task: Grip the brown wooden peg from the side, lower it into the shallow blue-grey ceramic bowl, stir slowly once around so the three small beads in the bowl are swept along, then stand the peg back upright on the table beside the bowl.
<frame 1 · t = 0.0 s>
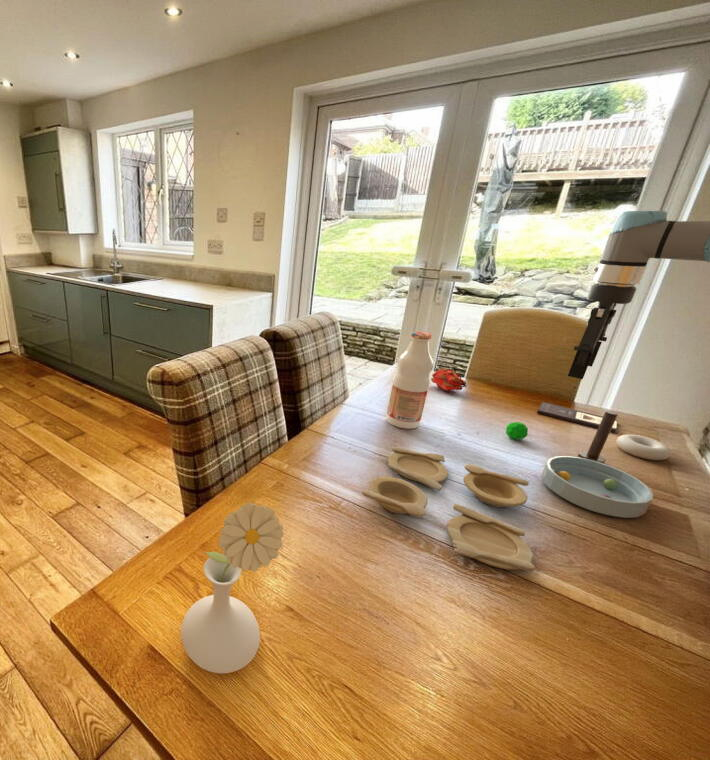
hand: (580, 371, 98), 23 cm above the table, tool pointing down, fingers open, 13 cm apart
chocolate bar: (575, 418, 124), on the table
dragon fruit: (446, 390, 144), on the table
flower in vase: (225, 641, 57), on the table
donut: (639, 453, 105), on the table
fruit juice: (401, 422, 120), on the table
polyhedron: (514, 438, 112), on the table
brown wooden peg: (590, 461, 101), on the table
bowl: (589, 493, 89), on the table
bead b: (605, 500, 84), point 2 cm above the table, touching bowl
bead c: (610, 484, 89), point 2 cm above the table, touching bowl
bead a: (563, 476, 92), point 2 cm above the table, touching bowl
tableware set: (445, 502, 86), on the table
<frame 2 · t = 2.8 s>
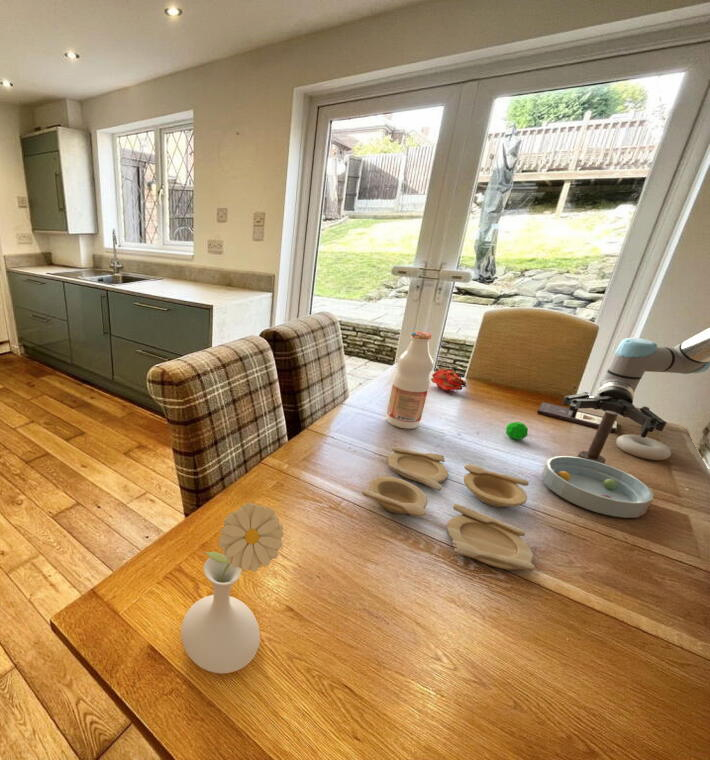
hand: (608, 422, 103), 8 cm above the table, tool horizontal, fingers open, 13 cm apart
nothing on the table moved.
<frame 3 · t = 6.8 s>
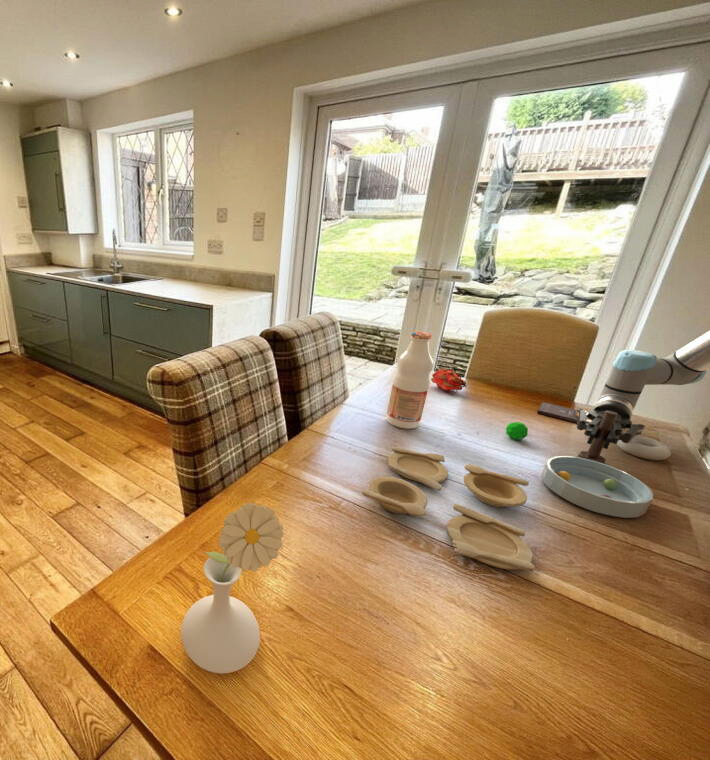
hand: (598, 441, 95), 8 cm above the table, tool horizontal, fingers closed on brown wooden peg, 2 cm apart
brown wooden peg: (590, 461, 101), on the table, touching gripper
everything else where it was.
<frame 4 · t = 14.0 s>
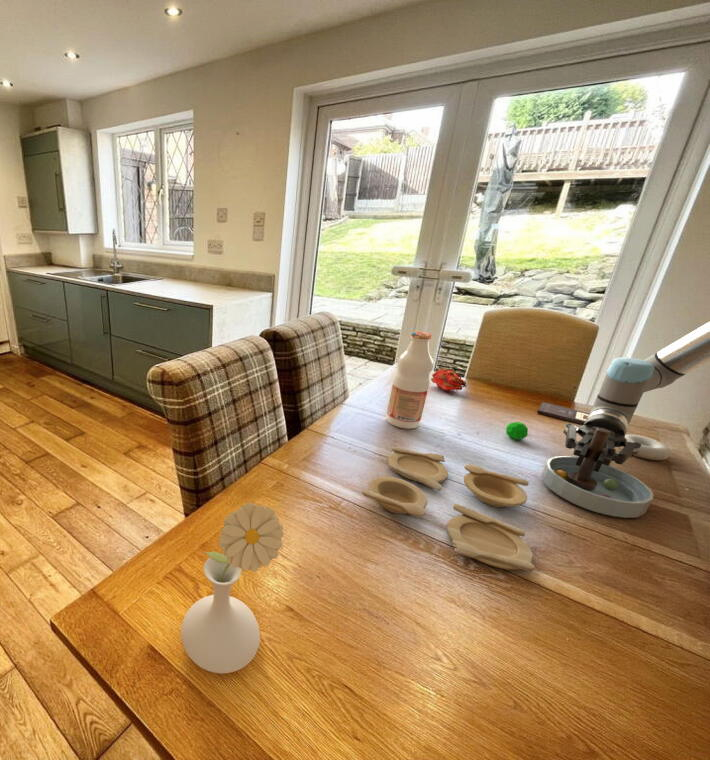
hand: (589, 463, 83), 10 cm above the table, tool horizontal, fingers closed on brown wooden peg, 2 cm apart
brown wooden peg: (580, 484, 90), point 2 cm above the table, touching bead a, gripper
bead a: (560, 475, 92), point 2 cm above the table, tilted 27°, touching bowl, brown wooden peg
everything else where it was.
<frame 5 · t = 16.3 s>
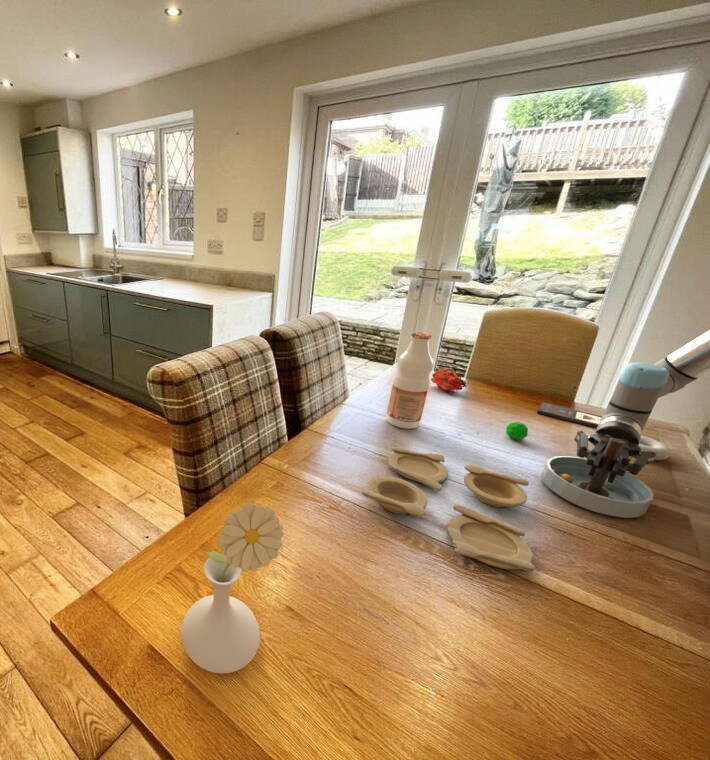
hand: (602, 473, 80), 9 cm above the table, tool horizontal, fingers closed on brown wooden peg, 2 cm apart
brown wooden peg: (591, 494, 87), point 1 cm above the table, touching bead b, gripper
bead b: (609, 502, 83), point 2 cm above the table, tilted 33°, touching bowl, brown wooden peg
bead a: (565, 479, 91), point 2 cm above the table, tilted 33°, touching bowl
everything else where it was.
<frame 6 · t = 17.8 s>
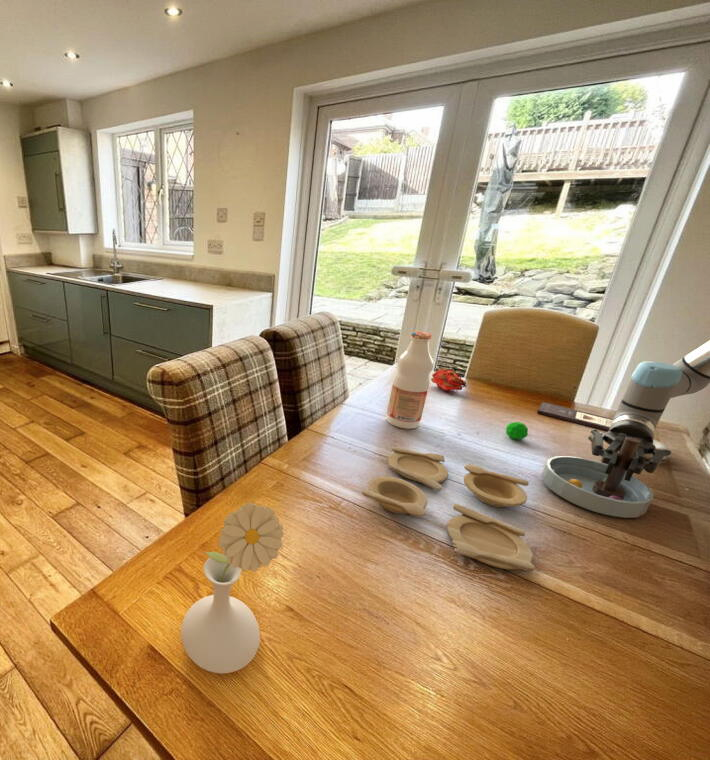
hand: (619, 471, 81), 10 cm above the table, tool horizontal, fingers closed on brown wooden peg, 2 cm apart
brown wooden peg: (607, 493, 87), point 1 cm above the table, touching gripper
bead b: (615, 501, 83), point 2 cm above the table, tilted 26°, touching bowl
bead c: (610, 483, 89), point 2 cm above the table, tilted 26°, touching bowl
bead a: (574, 484, 89), point 2 cm above the table, tilted 126°, touching bowl
everything else where it was.
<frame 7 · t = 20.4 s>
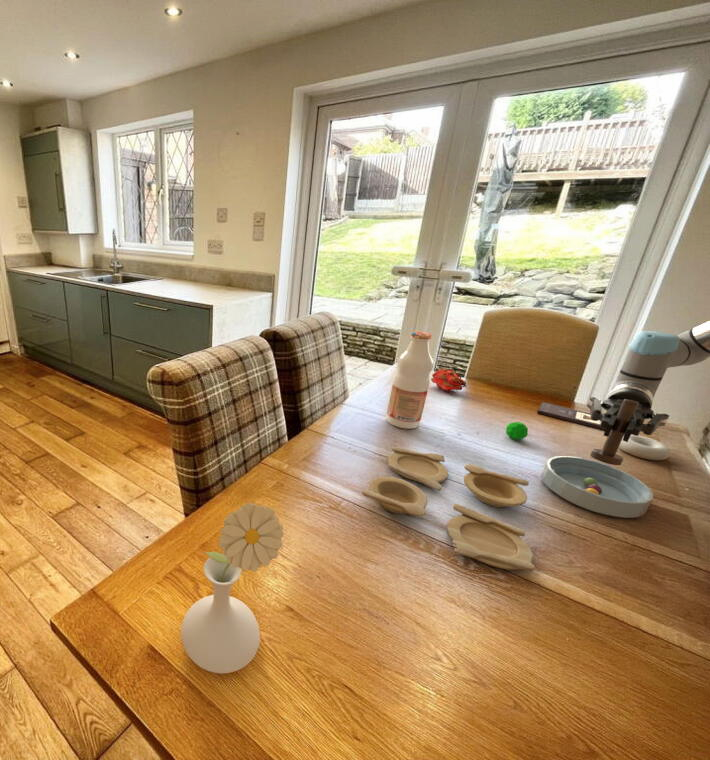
hand: (617, 432, 82), 16 cm above the table, tool horizontal, fingers closed on brown wooden peg, 2 cm apart
brown wooden peg: (605, 459, 87), point 8 cm above the table, tilted 8°, touching gripper
bead b: (594, 489, 87), point 2 cm above the table, tilted 160°, touching bowl
bead c: (590, 483, 89), point 2 cm above the table, tilted 130°, touching bowl
bead a: (591, 493, 86), point 2 cm above the table, tilted 72°, touching bowl
everything else where it was.
when the fingers open (9 cm above the table, at t = 26.5 s): brown wooden peg stays where it is, on the table.
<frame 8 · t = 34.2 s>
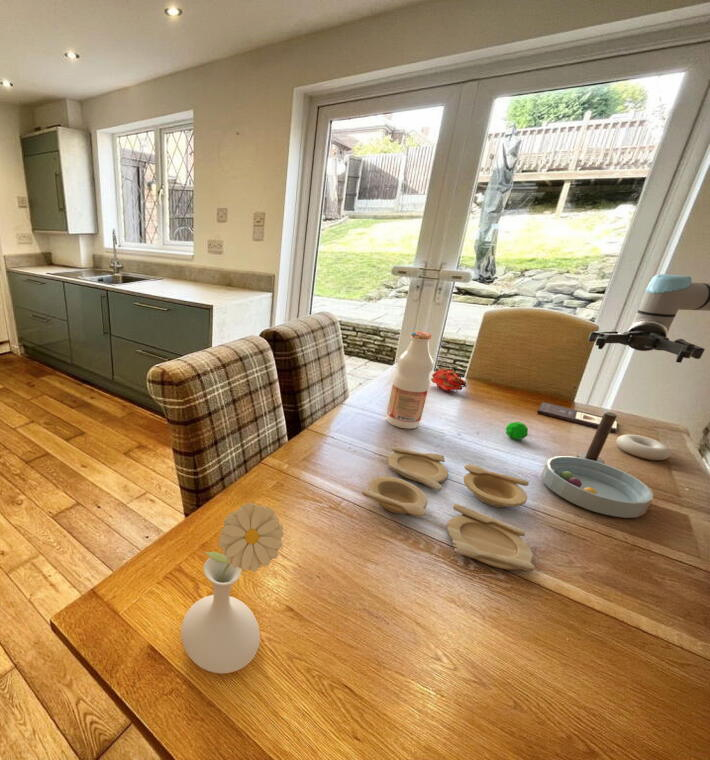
hand: (639, 350, 97), 28 cm above the table, tool horizontal, fingers open, 13 cm apart
brown wooden peg: (589, 463, 100), on the table
bead b: (574, 483, 89), point 2 cm above the table, tilted 27°, touching bowl
bead c: (566, 476, 92), point 2 cm above the table, tilted 82°, touching bowl
bead a: (589, 492, 86), point 2 cm above the table, tilted 82°, touching bowl
everything else where it was.
at the end: bead a moved 6.1 cm from its start; brown wooden peg inside the target area (1.4 cm from its centre), on the table; brown wooden peg tilted 0° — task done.
